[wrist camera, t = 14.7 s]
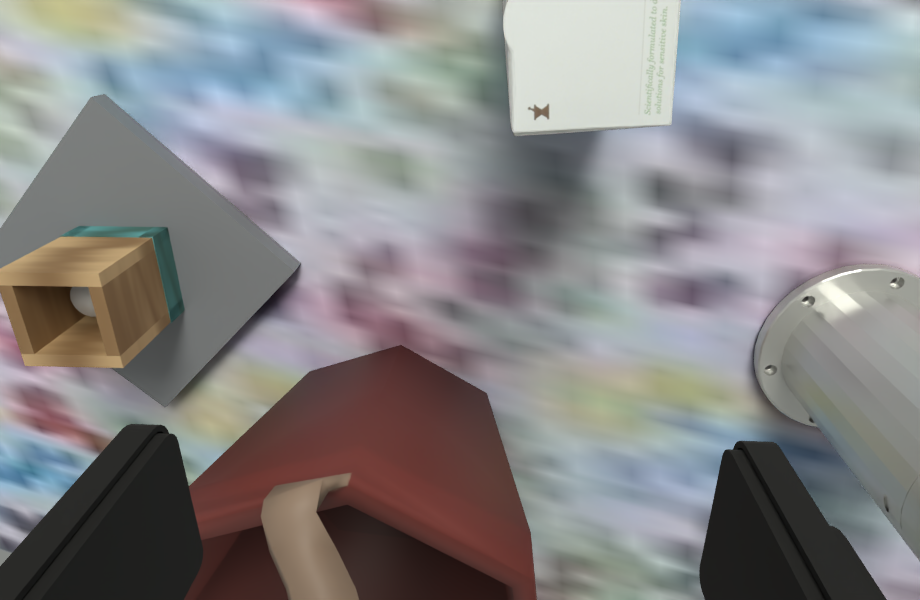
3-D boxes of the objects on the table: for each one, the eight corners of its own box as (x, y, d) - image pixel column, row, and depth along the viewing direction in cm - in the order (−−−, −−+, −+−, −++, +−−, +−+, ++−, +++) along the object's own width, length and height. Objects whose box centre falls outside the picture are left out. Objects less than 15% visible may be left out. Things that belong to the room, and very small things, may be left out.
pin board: (300, 263, 45) (270, 302, 39) (174, 396, 50) (130, 448, 44) (104, 94, 40) (37, 109, 34) (-11, 259, 46) (-86, 296, 40)
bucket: (300, 258, 44) (94, 521, 22) (594, 356, 46) (686, 692, 24) (236, 509, 55) (49, 869, 32) (480, 582, 56) (467, 969, 34)
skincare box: (612, 90, 39) (678, 138, 25) (503, 95, 39) (505, 146, 25) (619, -69, 35) (701, -119, 21) (499, -62, 36) (500, -105, 22)
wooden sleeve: (167, 226, 42) (98, 272, 35) (184, 310, 45) (124, 368, 38) (78, 226, 43) (-8, 271, 35) (100, 308, 45) (24, 366, 38)
